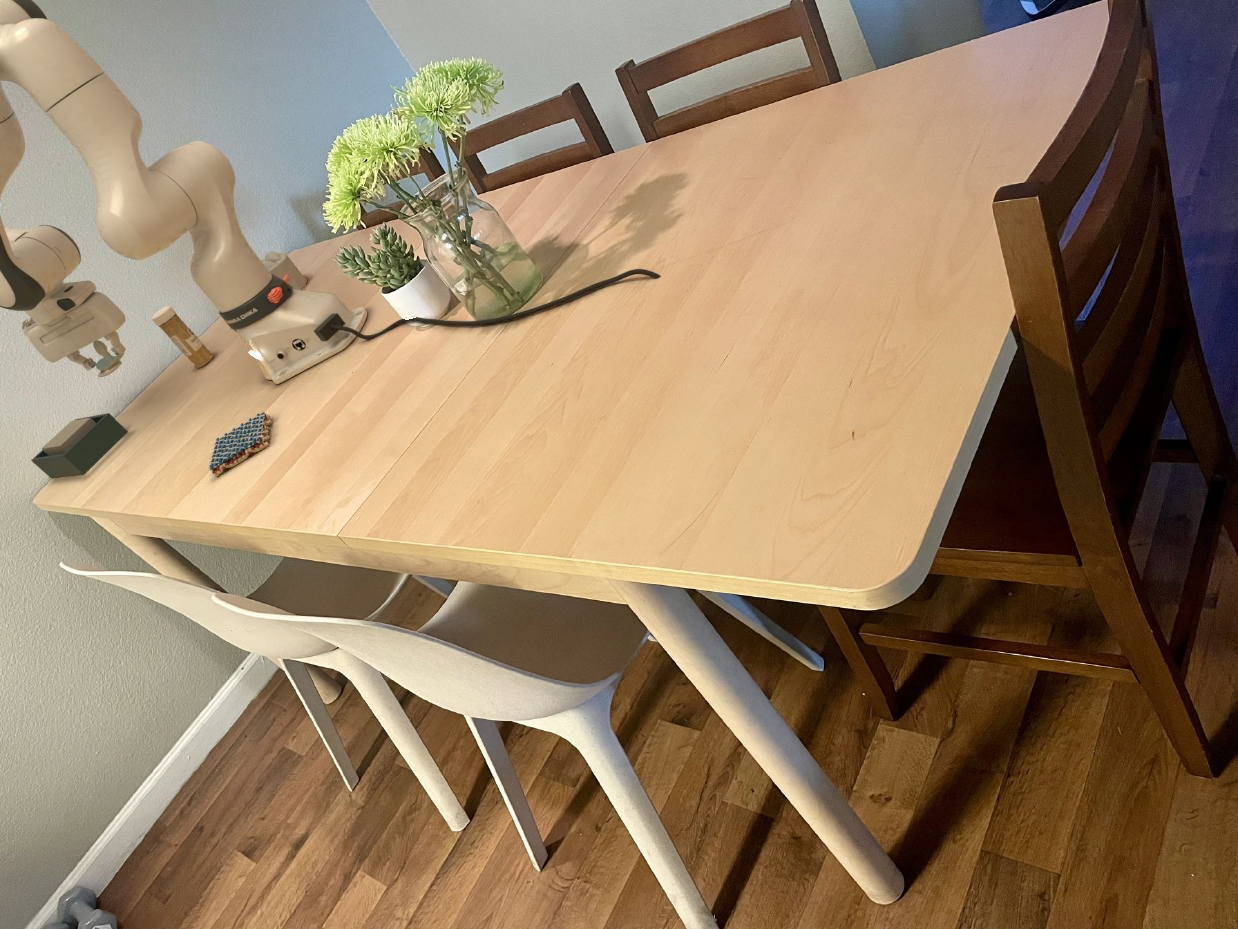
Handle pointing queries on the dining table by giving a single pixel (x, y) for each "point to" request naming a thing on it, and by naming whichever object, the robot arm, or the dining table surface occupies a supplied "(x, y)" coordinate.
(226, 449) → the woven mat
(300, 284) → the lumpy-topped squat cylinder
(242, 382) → the dining table surface
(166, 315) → the sprinkles bottle
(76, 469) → the crate
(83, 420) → the block
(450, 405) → the dining table surface
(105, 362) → the pacifier
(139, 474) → the dining table surface
